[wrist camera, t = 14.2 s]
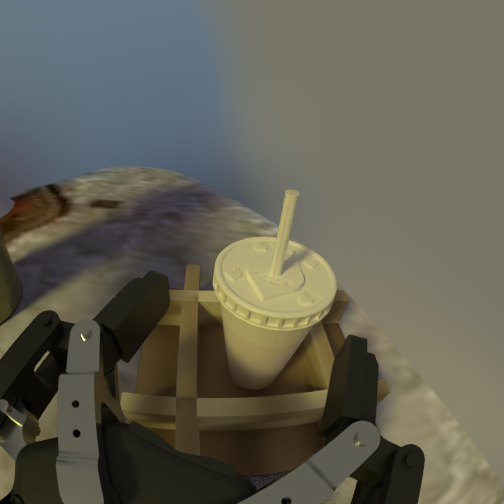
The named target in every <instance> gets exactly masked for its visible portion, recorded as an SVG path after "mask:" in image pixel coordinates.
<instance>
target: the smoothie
mask: <svg viewBox="0 0 504 504" xmlns="http://www.w3.org/2000/svg"><path fill="white" fill-rule="evenodd" d="M298 198H299V193H298V192H296V191H293V190H287V191H286V194H285V198H284V204H283V209H282V214H281V219H280V224H279V229H278V234H277V238H275V237H252V238H247V239H243V240H240V241H237V242H234V243H233V244H231V245H229V246H227V247H226V248H225V249H224V250H223V251H222V252H221V253H220V254H219V255H218V257H217V259H216V262H215V269H214V276H213V287H214V291H215V295H216V296H217V298H218V299H219V301H220V302H221V312H222V320H223V329H224V337H225V345H226V354H227V362H228V369H229V374H230V376H231V378H232V379H233V381H234V382H235V383H236V384H238V385H239V386H241V387H243V388H246V389H250V390H259V389H263V388H266V387H268V386H269V385H271V384H272V383H273V382H274V380H275V379H276V378H277V376H278V375H279V374H280V372H281V371H282V369H283V368H284V367H285V365H286V364H287V363H288V361H289V360H290V358H291V357H292V356H293V354H294V353H295V351H296V350H297V348H298V347H299V345H300V344H301V343H302V341H303V340H304V338H305V337H306V335H307V334H308V333H309V331H310V330H311V328H312V326H313V325H314V324H316V323H318V322H320V321H321V320H322V319H323V318H324V317H325V316H326V315H327V314H328V313H329V310H330V308H331V306H332V303H333V299H334V297H335V294H336V291H337V280H336V277H335V274H334V272H333V270H332V268H331V267H330V266H329V264H328V263H327V262H326V261H325V260H324V259H323V258H322V257H321V256H319V255H318V254H317V253H316V252H314V251H313V250H311V249H309V248H307V247H305V246H304V245H301V244H299V243H296V242H293V241H290V240H289V238H290V234H291V229H292V225H293V220H294V216H295V212H296V207H297V202H298Z"/></svg>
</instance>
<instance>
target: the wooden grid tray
mask: <svg viewBox="0 0 504 504" xmlns="http://www.w3.org/2000/svg"><path fill="white" fill-rule="evenodd" d="M169 292H170V306H169V309H168V311H167V312H166V314H165V315H164V316H163V318H162V319H161V320H160V321H159V323H158V324H157V325H156V327H155V328H154V329H153V331H152V332H151V333H150V335H149V336H148V337H147V338H146V340H145V341H144V342H143V346H142V352H141V359H140V365H139V372H138V379H137V387H136V394H134V393H126V392H122V396H121V404H120V406H121V408H122V411H123V414H124V416H125V417H126V418H127V419H128V421H129V422H130V423H131V422H132V421H135V422H137V423H138V424H140V425H142V426H144V427H146V428H147V429H149V430H151V431H153V432H155V433H157V434H158V435H159V436H160V437H161V438H162V439H164V440H165V441H166V442H167V443H168V444H170V445H171V446H172V447H173V448H175V449H176V450H177V451H179V452H183V453H188V454H193V455H199V456H205V457H210V458H213V459H216V460H218V461H221V462H224V463H227V464H230V465H233V466H236V467H237V469H236V471H237V472H239V473H241V474H242V475H243V476H255V475H265V474H274V473H281V472H288V471H289V470H291V469H292V468H294V467H295V466H297V465H298V464H300V463H301V462H302V461H304V460H305V459H307V458H308V457H309V456H311V455H312V454H313V453H315V452H316V451H317V450H319V449H320V448H321V447H323V446H324V443H325V437H320V436H318V435H319V431H320V426H321V422H322V417H323V413H324V408H325V403H326V398H327V393H328V388H329V382H330V376H331V371H332V366H333V362H334V360H335V357H336V355H337V354H338V352H339V350H340V349H341V347H342V345H343V344H344V342H345V340H344V338H343V335H342V333H341V330H340V328H339V326H338V321H339V319H340V317H341V315H342V313H343V311H344V308H345V306H346V304H347V302H348V298H347V296H346V294H345V292H344V291H336V294H335V297H334V299H333V303H332V306H331V308H330V310H329V313H328V314H327V315H326V316H325V317H324V318H323V319H322V320H321V321H320V322H318V323H316V324H314V325H313V326H312V328H311V330H310V331H309V333H308V334H307V335H306V337H305V338H304V340H303V341H302V343H301V344H300V345H299V347H298V348H297V350H296V351H295V353H294V354H293V356H292V357H291V358H290V360H289V361H288V363H287V364H286V365H285V367H284V368H283V369H282V371H281V372H280V374H279V375H278V376H277V378H276V379H275V380H274V382H273V383H272V384H271V385H269V386H268V387H266V388H263V389H259V390H250V389H246V388H243V387H241V386H239V385H238V384H236V383H235V382H234V381H233V379H232V378H231V376H230V374H229V369H228V362H227V354H226V345H225V337H224V329H223V320H222V312H221V302H220V301H219V299H218V298H217V296H216V295H215V291H214V290H200V265H191V264H187V266H186V274H185V283H184V289H169ZM377 388H378V391H377V404H378V403H379V402H380V401H381V400H382V399H383V398H384V397H385V396H386V395H388V394H389V393H390V391H389V388H388V386H387V383H386V381H385V379H384V378H383V379H379V380H378V386H377ZM375 424H376V423H375ZM376 428H377V426H376Z"/></svg>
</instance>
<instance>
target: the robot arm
mask: <svg viewBox="0 0 504 504" xmlns="http://www.w3.org/2000/svg"><path fill="white" fill-rule="evenodd" d="M21 293H22V286H21V282H20V280H19V278H18V275H17V273H16V271H15V268H14V266H13V263H12V261H11V258H10V255H9V253H8V250H7V247H6V244H5V241H4V238H3V235H2V232H1V229H0V323H2V322H3V321H4V320H5V319H7V318H8V317H9V315H10V314H11V313H12V312H13V311H14V309H15V308H16V306H17V304H18V302H19V300H20V297H21ZM169 306H170V292H169V283H168V277H167V276H166V275H163V274H161V273H158V272H155V271H153V270H152V271H149V272H148V273H147V274H146V275H145V276H144V277H143V278H137V279H135V280H133V281H131V282H129V283H128V284H127V285H126V286H125V287H124V288H123V289H122V290H121V292H119V293H118V294H117V295H116V297H114V298H113V299H112V300H111V301H110V302H109V303H108V304H107V305H106V306H105V307H104V308H103V309H102V310H101V312H100V313H99V314H98V315H97V316H96V317H95V318H94V319H93V320H89V319H86V320H81V321H79V322H77V323H76V324H73V323H69V322H64V321H61V320H60V318H59V316H58V314H57V313H56V312H54V311H52V310H47V311H44V312H42V313H40V314H39V315H38V316H37V317H36V318H35V319H34V320H33V321H32V322H31V323H30V325H29V326H28V327H27V328H26V329H25V330H24V331H23V332H22V334H21V335H20V336H19V337H18V338H17V339H16V341H15V342H14V343H13V344H12V345H11V347H10V348H9V349H8V350H7V352H6V353H5V354H4V355H3V357H2V358H1V359H0V445H1V446H2V447H3V448H4V449H5V451H6V452H7V453H8V454H9V455H10V456H11V457H12V458H13V459H14V460H15V461H16V463H15V479H14V484H13V488H12V490H11V492H10V493H9V494H8V495H7V496H6V497H4V498H3V499H2V500H0V504H321V503H322V502H323V501H324V500H326V499H327V498H328V497H329V496H331V495H332V494H333V493H334V491H335V489H336V487H337V486H338V485H339V484H340V483H341V482H343V481H344V480H345V479H346V478H347V477H348V476H349V477H352V478H354V479H356V480H358V481H357V484H356V488H355V491H354V495H353V498H352V501H351V504H417V503H418V499H419V494H420V488H421V483H422V477H423V470H424V462H425V457H424V453H423V451H422V450H421V448H420V447H418V446H416V445H414V444H408V445H405V446H403V447H400V446H398V445H396V444H393V443H391V442H389V441H387V440H386V439H384V438H383V437H382V436H381V435H380V433H379V431H378V429H377V428H376V424H375V418H376V406H377V391H378V388H377V386H378V366H379V365H378V363H377V360H376V357H375V355H374V354H372V353H368V352H367V339H365V338H361V337H357V336H354V335H349V336H348V337H347V339H346V340H345V342H344V344H343V345H342V347H341V349H340V350H339V352H338V354H337V355H336V357H335V360H334V362H333V366H332V371H331V376H330V382H329V388H328V393H327V398H326V403H325V408H324V413H323V417H322V422H321V426H320V431H319V435H318V436H320V437H325V443H324V446H323V447H321V448H320V449H319V450H317V451H316V452H315V453H313V454H312V455H311V456H309V457H308V458H307V459H305V460H304V461H302V462H301V463H300V464H298V465H297V466H295V467H294V468H292V469H291V470H289V471H288V472H286V473H285V474H283V475H281V476H280V477H278V478H277V479H275V480H273V481H272V482H270V483H268V484H267V485H265V486H263V487H262V488H260V489H258V490H257V489H256V488H255V486H254V485H253V484H252V483H251V482H250V481H249V480H248V479H247V478H246V477H245V476H243V475H242V474H241V473H239V472H237V471H236V469H237V467H236V466H233V465H230V464H227V463H224V462H221V461H218V460H216V459H213V458H210V457H205V456H199V455H193V454H188V453H183V452H179V451H177V450H176V449H175V448H173V447H172V446H171V445H170V444H168V443H167V442H166V441H165V440H164V439H162V438H161V437H160V436H159V435H158V434H157V433H155V432H153V431H151V430H149V429H147V428H146V427H144V426H142V425H140V424H138V423H137V422H135V421H132V422H131V424H126V423H125V421H124V415H123V411H122V408H121V406H120V402H119V392H118V377H117V364H116V363H117V362H118V361H119V359H121V360H123V361H125V362H126V363H128V362H129V361H130V360H131V358H132V357H133V356H134V354H135V353H136V352H137V350H138V349H139V348H140V346H141V345H142V344H143V342H144V341H145V340H146V338H147V337H148V336H149V335H150V333H151V332H152V331H153V329H154V328H155V327H156V325H157V324H158V323H159V321H160V320H161V319H162V318H163V316H164V315H165V314H166V312H167V311H168V309H169ZM47 351H49V352H50V353H49V354H48V356H47V357H46V358H45V360H44V361H43V362H42V363H41V365H40V366H39V367H38V369H37V370H36V371H35V372H34V369H35V366H36V365H37V363H38V362H39V361H40V359H41V358H42V357H43V356H44V354H45V353H46V352H47ZM57 391H58V437H56V438H52V439H47V440H43V441H38V442H35V438H36V436H39V435H40V432H41V431H40V428H39V423H38V420H39V418H40V417H41V415H42V413H43V412H44V410H45V409H46V407H47V406H48V404H49V403H50V401H51V400H52V398H53V397H54V395H55V394H56V392H57Z"/></svg>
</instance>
